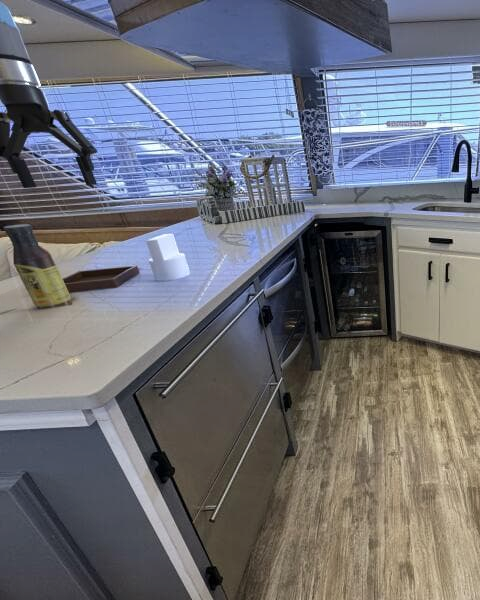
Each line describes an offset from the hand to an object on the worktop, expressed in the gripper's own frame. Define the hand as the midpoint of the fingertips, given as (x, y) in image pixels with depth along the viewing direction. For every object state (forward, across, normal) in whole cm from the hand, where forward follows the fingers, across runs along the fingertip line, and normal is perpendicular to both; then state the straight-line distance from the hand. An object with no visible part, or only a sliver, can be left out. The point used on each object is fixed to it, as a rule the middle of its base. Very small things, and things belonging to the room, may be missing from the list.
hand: (61, 186), depth 80 cm
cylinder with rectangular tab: (+27, -16, -5) cm, 32 cm away
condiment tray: (+27, +4, -4) cm, 28 cm away
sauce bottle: (+27, +2, +14) cm, 31 cm away
